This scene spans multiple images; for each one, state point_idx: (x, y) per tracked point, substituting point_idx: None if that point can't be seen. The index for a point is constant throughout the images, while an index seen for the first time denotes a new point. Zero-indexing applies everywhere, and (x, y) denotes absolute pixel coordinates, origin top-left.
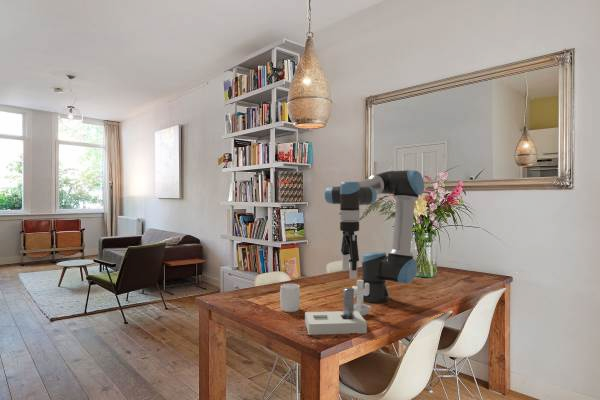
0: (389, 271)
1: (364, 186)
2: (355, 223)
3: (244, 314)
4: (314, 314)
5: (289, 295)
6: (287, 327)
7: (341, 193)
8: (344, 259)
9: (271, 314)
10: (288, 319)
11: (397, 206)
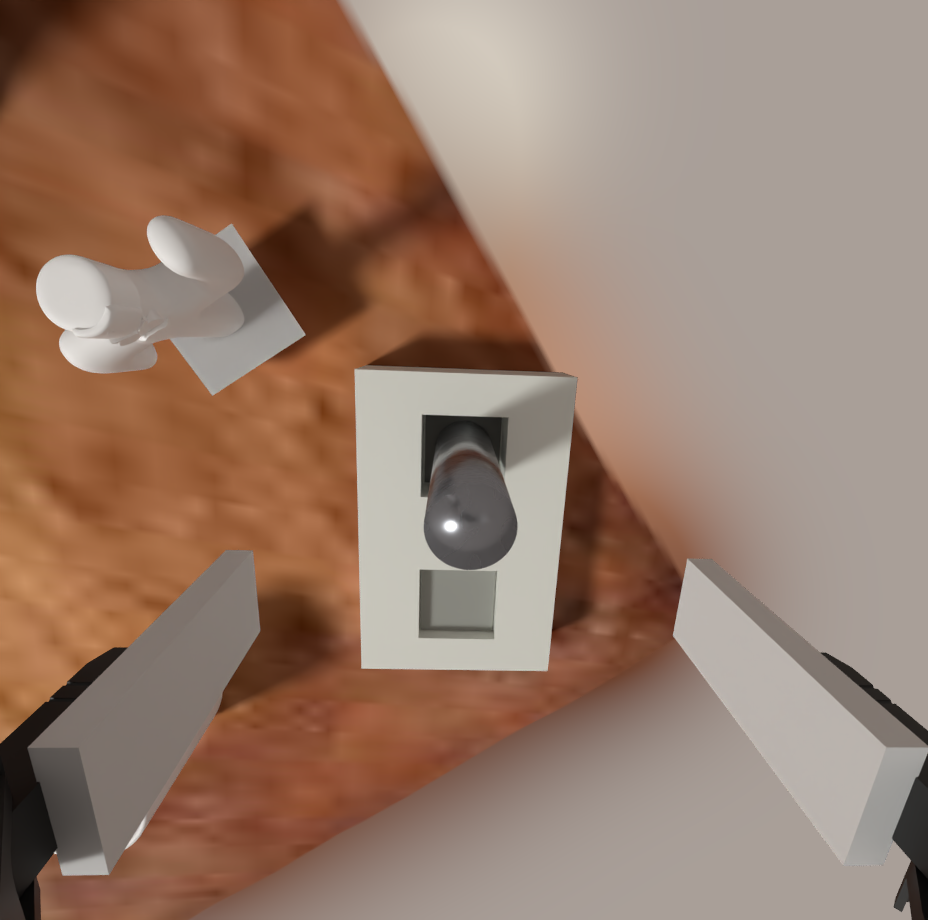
0: None
1: None
2: None
3: (261, 857)
4: (406, 629)
5: (175, 769)
6: (438, 709)
7: None
8: (163, 745)
9: (260, 762)
10: (333, 699)
11: None
